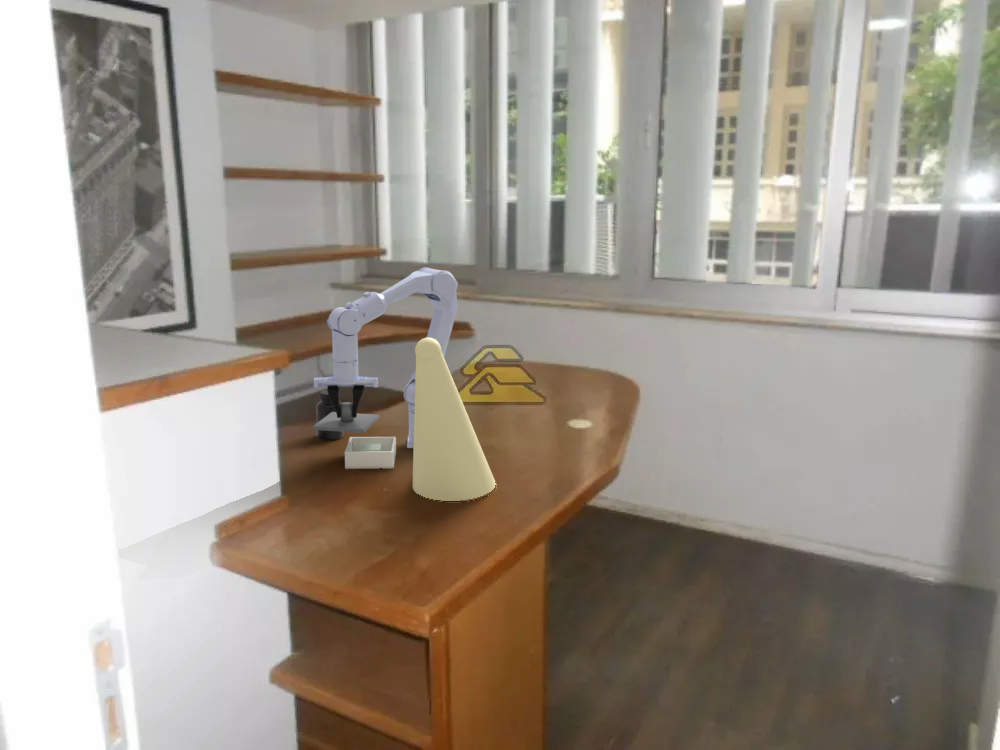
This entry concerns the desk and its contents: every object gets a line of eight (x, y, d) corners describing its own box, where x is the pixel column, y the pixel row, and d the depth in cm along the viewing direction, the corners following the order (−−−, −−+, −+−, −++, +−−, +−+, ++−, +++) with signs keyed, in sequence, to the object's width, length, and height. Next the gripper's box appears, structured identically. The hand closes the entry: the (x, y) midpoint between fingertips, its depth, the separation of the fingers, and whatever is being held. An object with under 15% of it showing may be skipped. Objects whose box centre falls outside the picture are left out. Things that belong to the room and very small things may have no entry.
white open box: (396, 452, 184) (395, 436, 183) (393, 468, 174) (393, 451, 173) (350, 452, 183) (350, 437, 182) (345, 468, 173) (344, 452, 172)
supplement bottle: (320, 442, 190) (318, 396, 188) (314, 434, 196) (312, 390, 193) (347, 438, 194) (346, 393, 191) (339, 431, 199) (338, 387, 197)
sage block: (381, 455, 181) (381, 443, 180) (380, 461, 176) (380, 449, 176) (362, 455, 180) (362, 443, 180) (360, 462, 176) (360, 449, 175)
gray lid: (379, 417, 182) (379, 398, 181) (363, 432, 170) (363, 412, 169) (332, 415, 184) (331, 395, 183) (313, 429, 172) (312, 409, 171)
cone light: (435, 465, 176) (435, 317, 168) (508, 477, 169) (512, 324, 161) (381, 504, 154) (378, 335, 145) (463, 520, 147) (465, 344, 139)
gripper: (378, 356, 178) (379, 411, 181) (315, 356, 177) (317, 412, 180) (376, 362, 171) (377, 420, 175) (311, 362, 170) (313, 420, 173)
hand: (347, 416), depth 177 cm, fingers closed on gray lid, 3 cm apart
